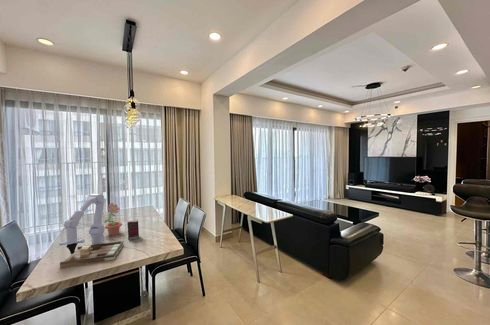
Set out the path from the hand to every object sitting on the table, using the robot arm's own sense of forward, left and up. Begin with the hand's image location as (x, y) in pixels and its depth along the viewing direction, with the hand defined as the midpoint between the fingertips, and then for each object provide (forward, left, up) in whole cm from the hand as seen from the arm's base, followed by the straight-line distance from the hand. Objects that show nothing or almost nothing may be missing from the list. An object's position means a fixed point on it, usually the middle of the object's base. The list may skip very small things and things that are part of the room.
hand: (72, 253), depth 145 cm
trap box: (0, +14, -4) cm, 14 cm away
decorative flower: (-41, +14, -4) cm, 44 cm away
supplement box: (-24, +35, -4) cm, 43 cm away
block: (0, +8, -2) cm, 8 cm away
